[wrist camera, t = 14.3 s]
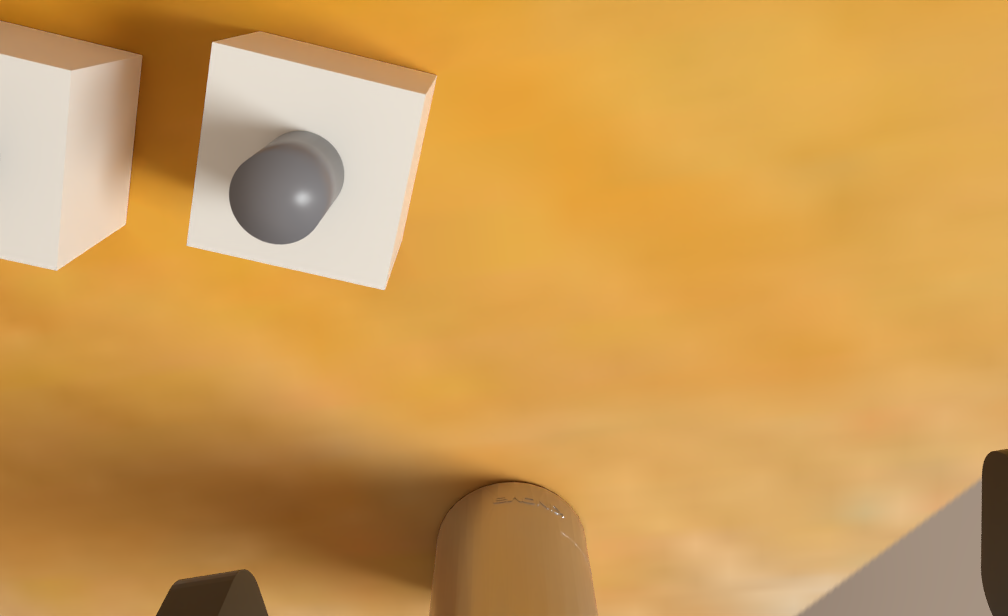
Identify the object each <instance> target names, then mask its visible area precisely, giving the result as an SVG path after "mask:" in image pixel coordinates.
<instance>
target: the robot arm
mask: <svg viewBox="0 0 1008 616" xmlns="http://www.w3.org/2000/svg"><path fill="white" fill-rule="evenodd" d="M981 536H982V537H981V538H982V539H981V541H982V542H981V575H982V583H983V587H984V592H985V596H986V599H987V602H988V605H989V608H990V610H991V612H992V615H993V616H1008V449H1004V450H998V451H992V452H990V453H989V454H988V455H987V456H986V458H985V460H984V464H983V469H982V534H981ZM156 616H268V613H267V610H266V607H265V604H264V601H263V598H262V596H261V593H260V590H259V587H258V584H257V582H256V580H255V578H254V576H253V575H252V574H251V573H250V572H249V571H248V570H245V569H244V570H237V571H231V572H225V573H219V574H212V575H206V576H200V577H194V578H187V579H181V580H178V581H176V582H175V583H174V584H173V586H172V587H171V589H170V590H169V592H168V594H167V596H166V598H165V600H164V602H163V603H162V605H161V607H160V609H159V611H158V613H157V615H156ZM429 616H598V612H597V606H596V600H595V593H594V587H593V581H592V574H591V568H590V563H589V557H588V551H587V545H586V540H585V534H584V529H583V526H582V524H581V522H580V519H579V517H578V515H577V514H576V513H575V512H574V510H573V509H572V508H571V506H570V505H569V504H568V503H567V502H565V501H564V500H563V499H562V498H561V497H559V496H558V495H556V494H555V493H553V492H551V491H549V490H547V489H545V488H542V487H539V486H536V485H532V484H528V483H519V482H506V483H496V484H492V485H488V486H485V487H481V488H479V489H477V490H475V491H473V492H471V493H469V494H467V495H466V496H465V497H463V498H462V499H461V500H459V501H458V502H457V503H456V504H455V505H454V506H453V507H452V508H451V510H450V511H449V512H448V513H447V514H446V516H445V518H444V520H443V522H442V524H441V526H440V529H439V534H438V538H437V545H436V555H435V565H434V575H433V583H432V593H431V603H430V614H429Z"/></svg>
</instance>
